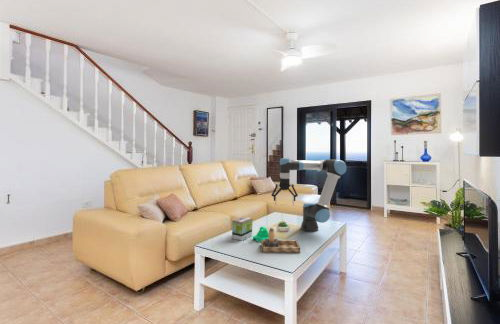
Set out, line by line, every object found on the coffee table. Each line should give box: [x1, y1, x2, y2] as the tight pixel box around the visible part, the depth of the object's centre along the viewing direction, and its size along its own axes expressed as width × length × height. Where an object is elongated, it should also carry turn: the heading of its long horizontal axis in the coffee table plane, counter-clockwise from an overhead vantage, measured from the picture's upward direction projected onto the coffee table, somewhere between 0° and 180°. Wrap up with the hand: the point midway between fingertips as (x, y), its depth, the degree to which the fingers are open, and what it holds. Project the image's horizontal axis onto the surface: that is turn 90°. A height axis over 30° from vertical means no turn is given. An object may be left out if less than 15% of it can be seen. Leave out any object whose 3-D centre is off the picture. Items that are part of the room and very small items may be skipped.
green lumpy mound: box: [252, 225, 269, 243], centre depth 201 cm, size 12×8×10 cm, turn 57°
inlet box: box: [260, 238, 301, 254], centre depth 184 cm, size 26×14×6 cm, turn 89°
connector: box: [268, 227, 275, 242], centre depth 184 cm, size 4×4×14 cm
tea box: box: [231, 216, 253, 242], centre depth 207 cm, size 15×10×15 cm
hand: (284, 205), depth 202 cm, fingers open, 13 cm apart
